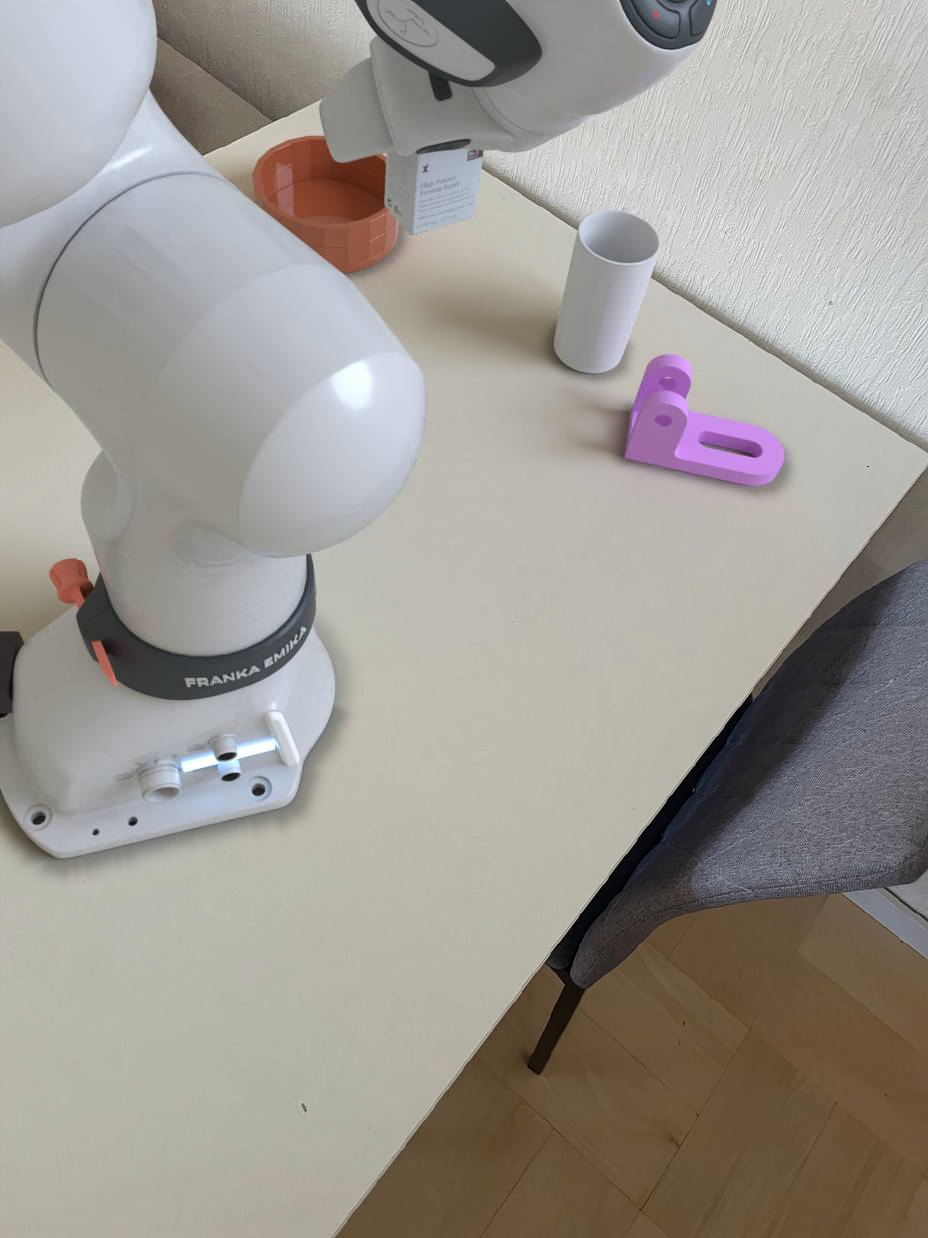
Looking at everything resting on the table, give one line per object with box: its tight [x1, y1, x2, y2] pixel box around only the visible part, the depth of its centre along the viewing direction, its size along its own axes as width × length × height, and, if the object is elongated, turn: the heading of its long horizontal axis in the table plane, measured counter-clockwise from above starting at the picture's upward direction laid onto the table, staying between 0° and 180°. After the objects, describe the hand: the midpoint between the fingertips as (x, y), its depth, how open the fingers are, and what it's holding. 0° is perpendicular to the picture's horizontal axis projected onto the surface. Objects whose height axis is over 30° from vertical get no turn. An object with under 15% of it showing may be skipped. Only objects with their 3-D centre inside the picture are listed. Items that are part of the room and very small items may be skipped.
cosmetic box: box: [384, 149, 485, 236], centre depth 73 cm, size 6×4×12 cm
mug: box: [553, 206, 662, 375], centre depth 87 cm, size 10×7×12 cm, turn 164°
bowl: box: [251, 135, 400, 274], centre depth 94 cm, size 13×13×5 cm
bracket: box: [624, 353, 786, 487], centre depth 83 cm, size 13×6×7 cm, turn 79°
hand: (432, 125), depth 73 cm, fingers closed on cosmetic box, 6 cm apart
